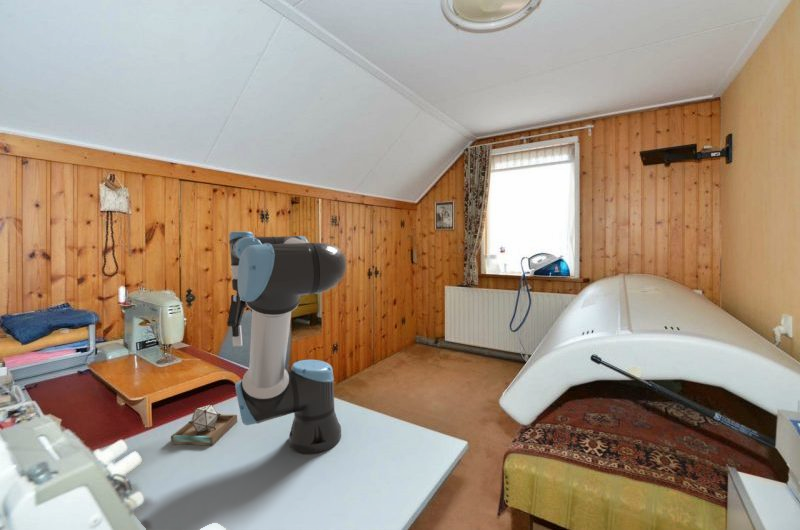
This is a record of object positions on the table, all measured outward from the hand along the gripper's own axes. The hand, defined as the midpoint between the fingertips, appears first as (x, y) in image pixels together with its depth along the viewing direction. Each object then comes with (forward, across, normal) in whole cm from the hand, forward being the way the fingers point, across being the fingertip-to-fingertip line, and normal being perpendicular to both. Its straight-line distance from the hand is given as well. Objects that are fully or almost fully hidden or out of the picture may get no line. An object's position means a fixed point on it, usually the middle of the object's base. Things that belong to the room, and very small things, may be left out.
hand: (247, 339), depth 119 cm
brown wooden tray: (+26, +12, -9) cm, 30 cm away
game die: (+25, +12, -9) cm, 30 cm away
